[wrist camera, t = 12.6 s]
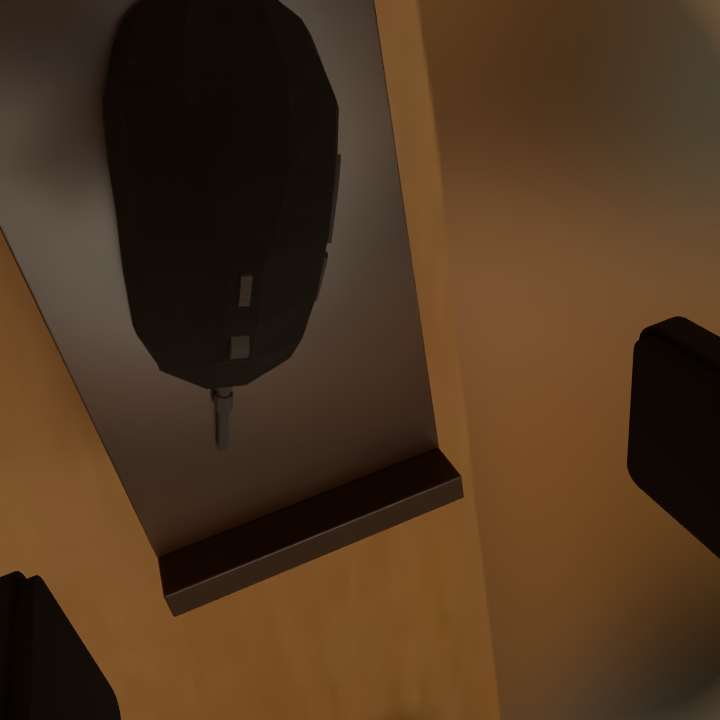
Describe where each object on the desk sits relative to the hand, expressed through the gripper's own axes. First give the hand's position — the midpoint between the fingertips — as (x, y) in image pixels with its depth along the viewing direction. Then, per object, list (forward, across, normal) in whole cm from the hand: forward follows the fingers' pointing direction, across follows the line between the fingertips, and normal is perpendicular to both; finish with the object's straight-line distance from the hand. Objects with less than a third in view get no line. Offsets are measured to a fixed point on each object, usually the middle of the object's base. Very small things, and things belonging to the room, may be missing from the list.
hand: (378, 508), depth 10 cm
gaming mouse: (+14, 0, +1) cm, 14 cm away
